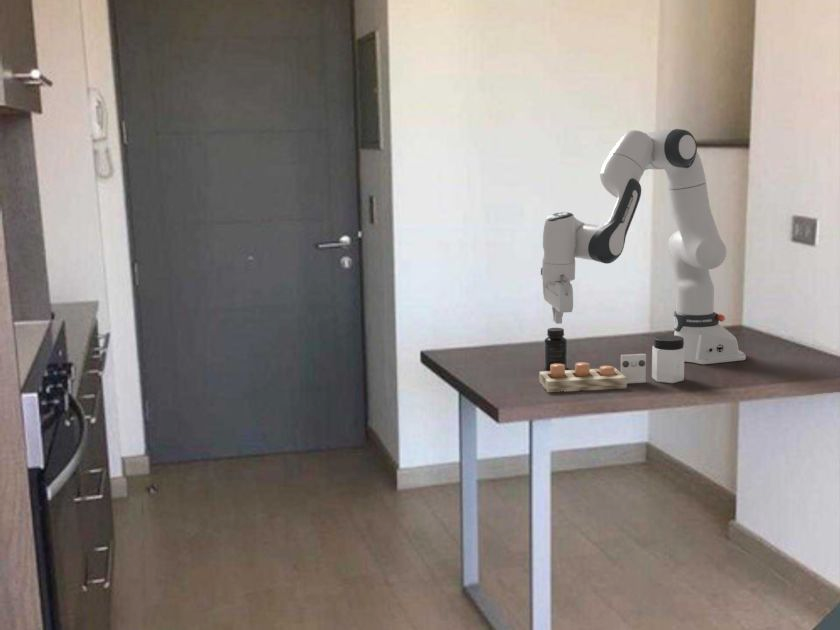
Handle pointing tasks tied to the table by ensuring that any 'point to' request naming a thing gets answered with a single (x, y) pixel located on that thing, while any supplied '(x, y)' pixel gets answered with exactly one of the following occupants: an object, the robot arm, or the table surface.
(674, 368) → the jar
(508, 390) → the table surface
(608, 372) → the button
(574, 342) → the table surface
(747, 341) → the table surface
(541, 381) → the wooden egg tray
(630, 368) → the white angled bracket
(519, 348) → the table surface
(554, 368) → the button
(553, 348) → the supplement bottle
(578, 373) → the button mid
